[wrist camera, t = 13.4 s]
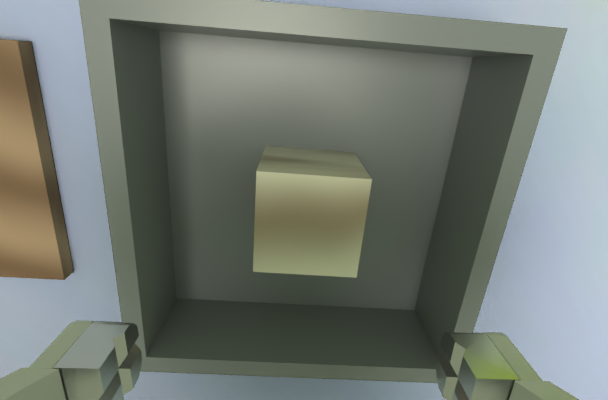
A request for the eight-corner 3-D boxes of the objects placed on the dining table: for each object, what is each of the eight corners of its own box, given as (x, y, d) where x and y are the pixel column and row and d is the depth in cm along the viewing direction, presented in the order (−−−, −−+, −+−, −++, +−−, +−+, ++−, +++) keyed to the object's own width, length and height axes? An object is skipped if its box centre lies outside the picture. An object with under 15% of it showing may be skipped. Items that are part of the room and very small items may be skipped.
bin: (421, 313, 25) (456, 383, 20) (166, 300, 24) (128, 370, 19) (486, 39, 19) (567, 28, 13) (144, 9, 18) (76, -16, 12)
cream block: (343, 231, 22) (356, 277, 17) (262, 226, 21) (252, 271, 17) (354, 152, 20) (372, 179, 15) (265, 145, 20) (256, 171, 15)
